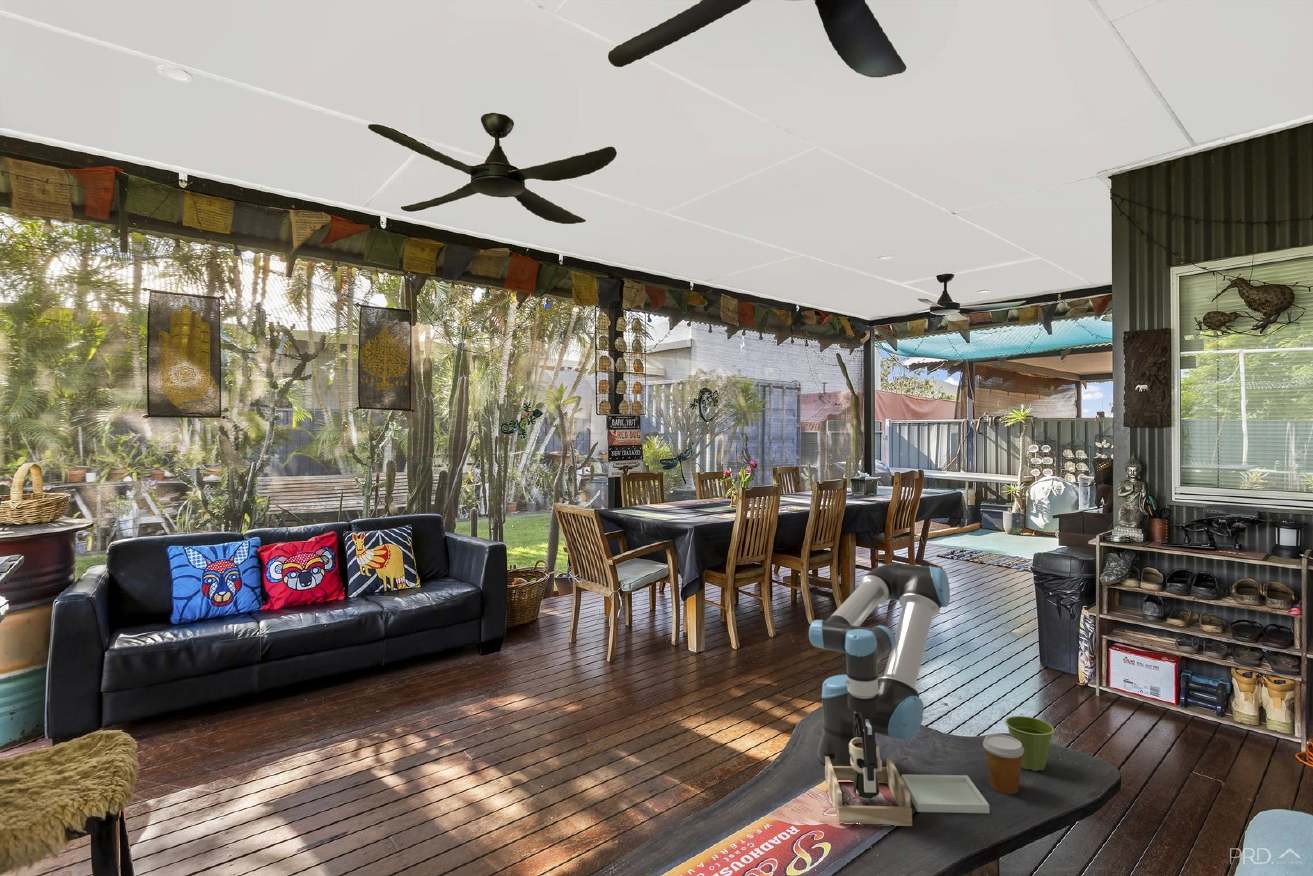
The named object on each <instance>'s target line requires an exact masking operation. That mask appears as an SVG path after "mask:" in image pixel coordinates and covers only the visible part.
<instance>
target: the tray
mask: <svg viewBox="0 0 1313 876" xmlns="http://www.w3.org/2000/svg"><path fill="white" fill-rule="evenodd" d="M900 776H901V778H902V780H903V782H904V784H905V786H906V787H907V789H908V791H909V793H910V801H911V802H912V803H913V806H914V808H915V809H916V812H917V813H952V814H953V813H957V814H959V813H960V814H961V813H963V814H990V804H989V803H988V801H987V800H986V799H985V796H983V795H982V793H981V791H979V789H978V788H977V787H976V785H975V783H974V782H973V780H971V778H970V776H969V775H963V774H959V775H957V774H954V775H953V774H907V773H906V774H905V773H904V774H903V773H902V774H901V775H900Z"/></svg>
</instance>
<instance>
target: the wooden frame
mask: <svg viewBox="0 0 1313 876" xmlns="http://www.w3.org/2000/svg"><path fill="white" fill-rule="evenodd" d="M885 761H886V766H882V771H881V772H880V771H878V772H876V774H877V780H878V784H879V783H886V785H887V786H888V788H889V790H890V792H891V794H892V796H893V798H895V799H894V801H895V802H896V805H897V806H894V805H893V806H892V805H888V806H886V805H885V806H884V805H847V804H846V805H843V800H842V799H843V793H842V790H841V786H840V783H838V780H851V781H854V777H855V770H854V769H853V768H852V766H832V764H831V761H830V758H829V757H825V765H824V775H825V776H824V778H825V779H826V781H825V783H827V784H826V786H827V785H828V787H827V789H828V788H829V791H828V792H830V794H829V796H830V795H831V797H830V799H831V798H832V800H831V802H832V801H833V803H832V805H833V804H834V806H833V808H834V807H835V810H836V813H835V815H836V814H837V816H836V818H837V817H838V819H837V821H838V820H839V822H843V823H855V824H856V823H858V824H859V823H860V824H862V823H863V824H891V825H894V827H895V826H897V827H899V826H900V827H901V826H902V827H905V826H906V827H913V812H912V811H913V809H912V806H911V799H910V793H909V791H908V789H907V787H906V786H905V784H904V782H903V780H902V778H901V775H900V773H899V771H898V769H897V767H896V766H895V764H894V762H893V760H892V758H891V757H889V756H888V757H887V756H886V760H885ZM825 779H824V780H825ZM835 810H834V811H835ZM839 822H838V823H839ZM891 825H890V826H891Z"/></svg>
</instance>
